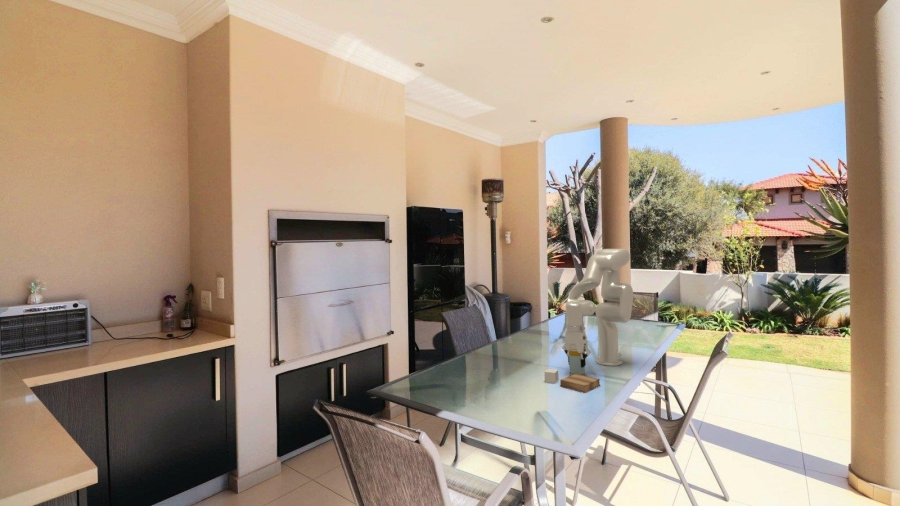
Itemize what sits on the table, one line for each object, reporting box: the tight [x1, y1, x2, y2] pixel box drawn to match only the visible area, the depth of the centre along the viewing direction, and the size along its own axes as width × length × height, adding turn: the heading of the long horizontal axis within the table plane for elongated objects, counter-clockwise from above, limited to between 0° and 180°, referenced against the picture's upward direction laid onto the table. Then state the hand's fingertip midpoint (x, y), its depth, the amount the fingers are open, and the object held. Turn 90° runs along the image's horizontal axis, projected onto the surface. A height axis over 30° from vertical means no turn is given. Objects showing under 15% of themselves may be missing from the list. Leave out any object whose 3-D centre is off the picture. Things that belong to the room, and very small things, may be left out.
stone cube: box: [543, 368, 559, 384], centre depth 191 cm, size 5×5×5 cm
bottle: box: [568, 344, 586, 376], centre depth 197 cm, size 7×7×15 cm
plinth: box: [559, 374, 601, 394], centre depth 183 cm, size 12×12×3 cm
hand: (576, 365), depth 197 cm, fingers closed on bottle, 5 cm apart
